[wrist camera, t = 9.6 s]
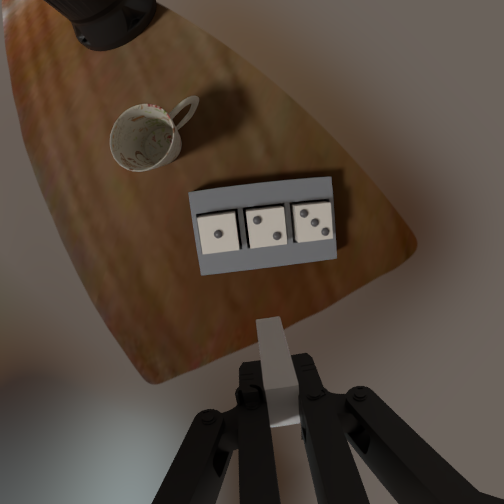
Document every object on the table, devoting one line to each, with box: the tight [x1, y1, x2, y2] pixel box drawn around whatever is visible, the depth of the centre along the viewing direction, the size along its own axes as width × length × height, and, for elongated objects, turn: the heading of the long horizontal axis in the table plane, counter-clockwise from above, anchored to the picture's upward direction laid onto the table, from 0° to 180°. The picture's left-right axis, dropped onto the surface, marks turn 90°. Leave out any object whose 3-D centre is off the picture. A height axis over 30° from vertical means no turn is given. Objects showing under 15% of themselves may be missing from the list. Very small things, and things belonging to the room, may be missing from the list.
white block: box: [197, 210, 239, 254], centre depth 40 cm, size 5×5×4 cm
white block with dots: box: [290, 201, 333, 243], centre depth 40 cm, size 5×5×4 cm
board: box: [188, 177, 337, 275], centre depth 41 cm, size 12×20×3 cm, turn 97°
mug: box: [110, 96, 199, 172], centre depth 34 cm, size 8×13×10 cm, turn 136°
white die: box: [246, 205, 287, 249], centre depth 40 cm, size 5×5×4 cm
